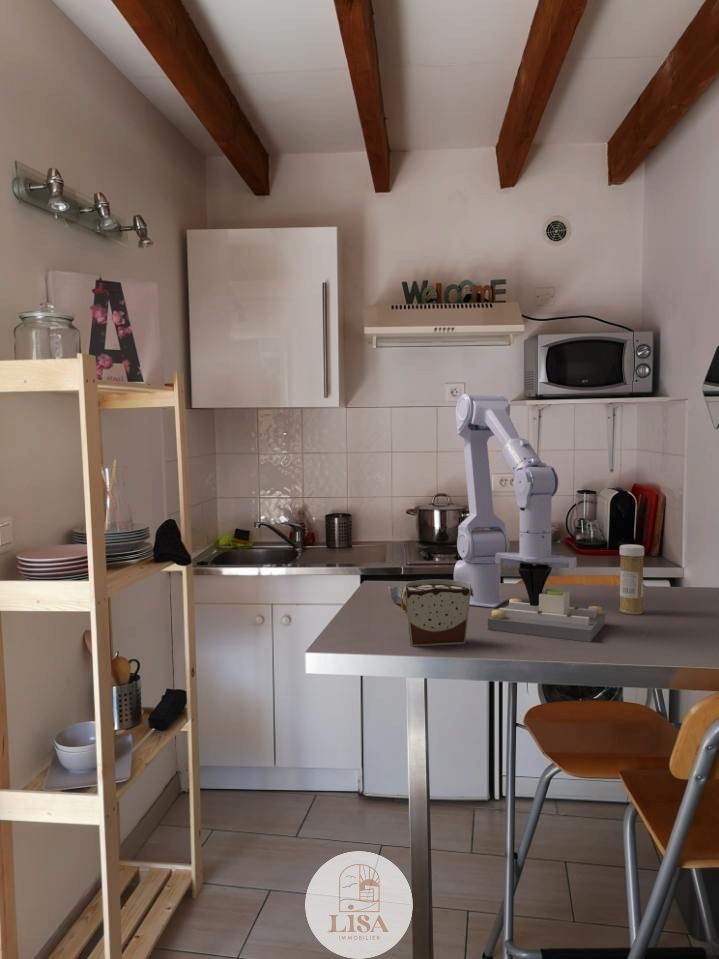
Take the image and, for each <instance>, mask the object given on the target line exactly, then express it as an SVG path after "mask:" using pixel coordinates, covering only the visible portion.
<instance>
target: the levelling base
mask: <svg viewBox="0 0 719 959" xmlns="http://www.w3.org/2000/svg"><path fill="white" fill-rule="evenodd" d="M508 600H509V602H508V605H506V606H504V607H500V608H498V609H492V610H491V616H490V617H489V618H487V631H495V632H496V631H497V632H504V633H513V634H522V635H530V636H539V637H546V638H555V639H564V640H571V641H579V642H580V641H581V642H589V643H591V642H592V641H593V640H594V638H595V637H596V636H597V634H598V633H599V632H600V631H601V629H602V628H604V626H605V624H606V613H604V612H603V607H601V606H595V605H593V606H590V605H589V606H588V608H583V607H582V608H581V607H580V606H575V607H573V606H572V607H571V606H570V607H569V614H568V615H563V614H553V613H544V612H542V611H539V605H538V606H530V602H523V600H522V598H510V599H508Z"/></svg>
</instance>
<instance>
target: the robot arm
mask: <svg viewBox="0 0 719 959" xmlns="http://www.w3.org/2000/svg"><path fill="white" fill-rule="evenodd" d="M510 414H511V404H510V402H509V400H508V397H506V395H504V394H502V393H501V394H469V393H463V394H461V395H460V397H459V398H458V400H457V404H456V406H455V419H456V428H457V429H456V430H457V435H458V436H459V437H461V438H462V444H463V446H462V447H463V454H464V456H463V457H464V466H465V478H466V490H467V500H468V511H469V515H468V516H467V517H466V518H465V519H464V520H463V521H462V522H460V523H459V524H458V529H457V530H458V531H457V538H456V539H457V540H456V546H457V547H456V548H457V552H458V554H459V557H460V558H461V559H459V560H457V561H456V563H455V565H454V569H453V580H454V581H461V582H466V583H469V584H471V588H472V589H473V594H474V596H471V595H470V603H469V606H477V607H485V608H497V607H499V606H500V605H502V604H504V603H505V602H506V601H507V598H505V597H501V564H506V565H517V566H518V565H519V568H517V571H518V575H519V576H520V577H521V580H522V581H523V583H524V586H525V590H526V592H527V596H528V600H529V603H530V606H538V605H539V594H541V593H542V592H543V591H544V587H545V584H546V583H547V580H548V578H549V576H550V574H551V572H552V570H553V568H559V569H560V568H561V569H568V570H575V569H577V556H565V555H557V554H552V514H553V512H552V508H553V506H552V503H553V501H552V499H553V498H552V497H554V496H555V495H556V494H557V492H558V489H559V475H558V472H557V471H556V469H555V467H554V466H552V465H547V463H546V462H544V463H543V462H542V461H541V458H540V457H539V455H538V454H537V452H536V451H535V449H534V448H533V446H532V445H531V443H530V441H529V440H528V439H526V438H521V437H520V435H519V434H518V432H517V428H515V426H514V423H513V421H512V419H511V417H510ZM493 436H495V437H496V439H497V440H498V441H499V443H500V444H501V446H502V451H501V456H502V459H503V460H504V462H505V464H506V465H507V467H508V469H509V470H510V473H511V474H512V475H513V477H514V478H513V479H514V480H513V481H512V486H513V490H514V493H515V496H516V497H515V498H516V504H517V507H519V534H518V535H519V550H518V551H519V552H509V551H510V545H511V544H510V538H509V536H508V532H507V529H506V523H505V522H504V521H503V520H502V519H500V518H499V517H498V516H497V515H496V514H494V502H493V492H492V491H493V490H492V481H491V472H490V470H491V469H490V460H489V450H488V449H489V448H488V441H489V439H490V438H491V437H493ZM476 529H477V530H476ZM478 529H479V530H478Z"/></svg>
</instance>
